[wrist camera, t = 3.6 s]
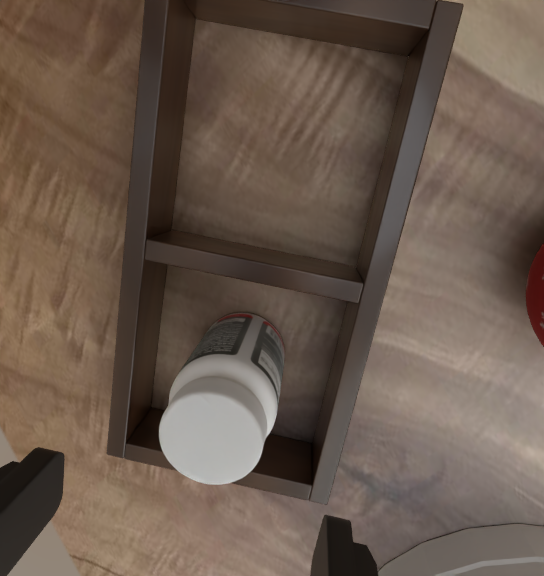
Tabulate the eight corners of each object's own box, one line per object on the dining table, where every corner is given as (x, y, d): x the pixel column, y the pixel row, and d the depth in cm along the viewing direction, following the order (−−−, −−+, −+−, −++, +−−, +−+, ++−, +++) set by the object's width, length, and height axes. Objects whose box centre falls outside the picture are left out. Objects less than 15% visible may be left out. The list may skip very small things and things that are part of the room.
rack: (133, 417, 25) (105, 455, 22) (177, -9, 19) (148, -51, 15) (325, 460, 24) (327, 505, 21) (436, 36, 18) (464, 3, 15)
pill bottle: (193, 369, 24) (131, 466, 16) (219, 298, 22) (166, 364, 14) (268, 399, 24) (244, 512, 16) (298, 330, 22) (291, 413, 14)
